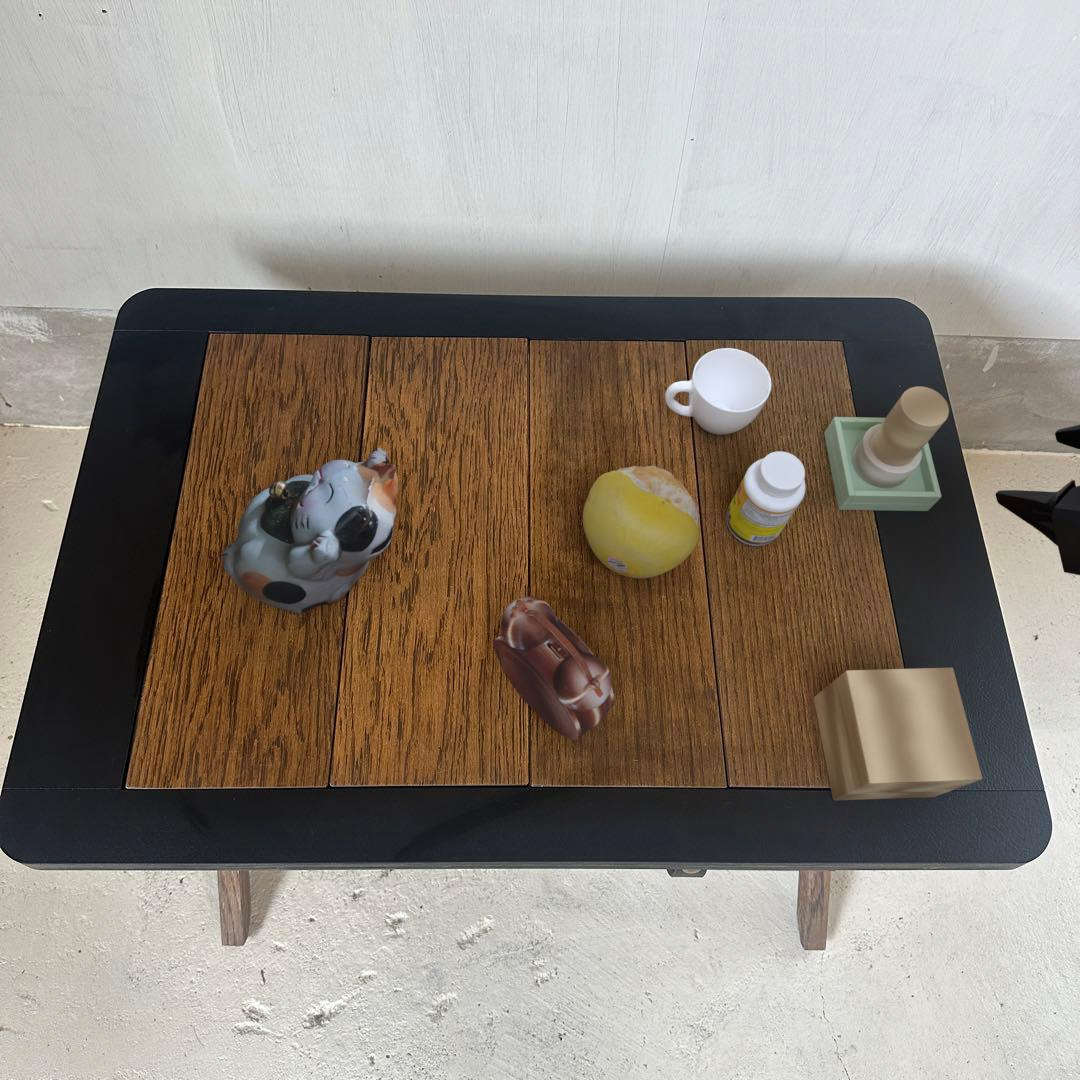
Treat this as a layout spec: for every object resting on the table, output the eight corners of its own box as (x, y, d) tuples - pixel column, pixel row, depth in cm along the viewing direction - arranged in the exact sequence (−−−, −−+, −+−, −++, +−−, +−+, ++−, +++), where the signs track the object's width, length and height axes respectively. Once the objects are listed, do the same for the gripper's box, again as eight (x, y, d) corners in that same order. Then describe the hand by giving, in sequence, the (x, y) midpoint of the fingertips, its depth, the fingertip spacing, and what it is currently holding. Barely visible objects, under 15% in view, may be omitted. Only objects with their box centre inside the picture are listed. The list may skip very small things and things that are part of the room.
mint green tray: (909, 434, 89) (922, 418, 87) (928, 511, 85) (942, 496, 83) (823, 432, 89) (833, 416, 86) (838, 510, 85) (849, 495, 82)
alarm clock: (609, 722, 74) (635, 670, 61) (569, 759, 73) (586, 713, 59) (527, 633, 78) (534, 564, 64) (487, 666, 76) (485, 603, 63)
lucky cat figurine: (285, 467, 84) (334, 383, 74) (386, 538, 86) (446, 466, 76) (194, 572, 74) (236, 491, 64) (310, 649, 76) (369, 583, 66)
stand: (910, 694, 77) (953, 667, 70) (935, 797, 73) (983, 779, 66) (813, 697, 76) (846, 670, 69) (832, 800, 72) (869, 783, 65)
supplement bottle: (747, 488, 86) (777, 432, 76) (791, 523, 84) (827, 470, 75) (712, 522, 84) (739, 469, 74) (757, 559, 82) (789, 509, 73)
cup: (757, 449, 88) (777, 412, 82) (662, 449, 87) (674, 411, 81) (747, 388, 91) (765, 347, 85) (655, 388, 90) (666, 347, 84)
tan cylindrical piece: (918, 481, 85) (968, 425, 76) (866, 494, 84) (911, 438, 75) (893, 434, 87) (938, 374, 79) (842, 446, 87) (882, 386, 78)
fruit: (680, 604, 80) (703, 559, 71) (568, 579, 80) (577, 531, 71) (695, 511, 84) (719, 458, 75) (589, 488, 85) (600, 432, 76)
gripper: (1303, 313, 58) (1068, 324, 72) (1170, 465, 52) (940, 447, 65) (1312, 448, 63) (1090, 435, 76) (1192, 602, 57) (973, 559, 70)
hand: (1027, 465), depth 72 cm, fingers open, 9 cm apart
